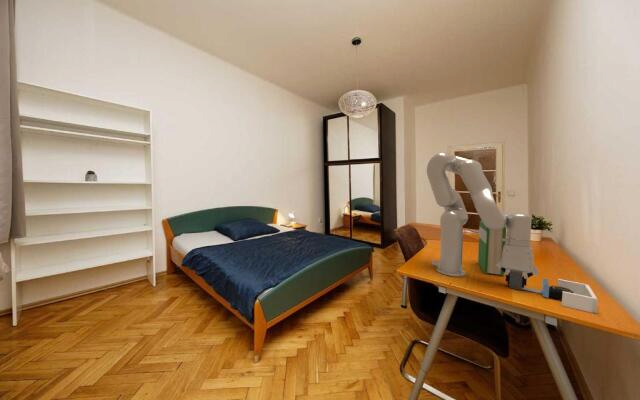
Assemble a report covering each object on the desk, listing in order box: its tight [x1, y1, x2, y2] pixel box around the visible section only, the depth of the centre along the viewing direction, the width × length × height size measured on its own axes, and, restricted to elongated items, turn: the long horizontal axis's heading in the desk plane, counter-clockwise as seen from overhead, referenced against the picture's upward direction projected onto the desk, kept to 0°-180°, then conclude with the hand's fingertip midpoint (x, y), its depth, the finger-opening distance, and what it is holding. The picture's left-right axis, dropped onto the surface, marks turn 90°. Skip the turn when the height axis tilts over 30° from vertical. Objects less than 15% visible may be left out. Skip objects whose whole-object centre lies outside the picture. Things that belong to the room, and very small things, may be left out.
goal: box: [557, 278, 599, 315], centre depth 86 cm, size 8×16×5 cm, turn 138°
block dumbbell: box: [508, 269, 550, 299], centre depth 95 cm, size 12×8×7 cm
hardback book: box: [477, 220, 507, 277], centre depth 118 cm, size 18×7×24 cm, turn 155°
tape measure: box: [549, 285, 574, 301], centre depth 88 cm, size 7×7×4 cm
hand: (515, 284), depth 98 cm, fingers closed on block dumbbell, 4 cm apart
